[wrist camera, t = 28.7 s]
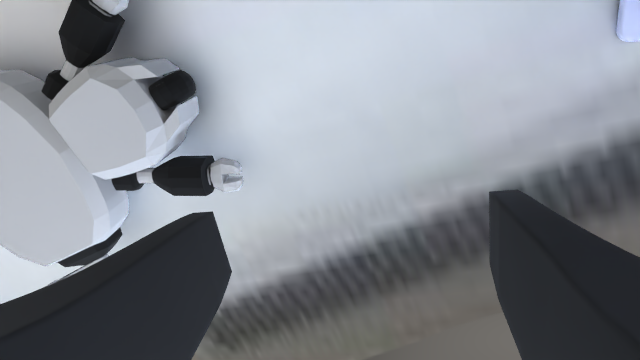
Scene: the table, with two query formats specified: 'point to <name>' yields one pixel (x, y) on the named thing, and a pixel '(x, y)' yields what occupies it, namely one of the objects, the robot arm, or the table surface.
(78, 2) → the robot toy
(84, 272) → the robot arm
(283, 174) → the table surface
